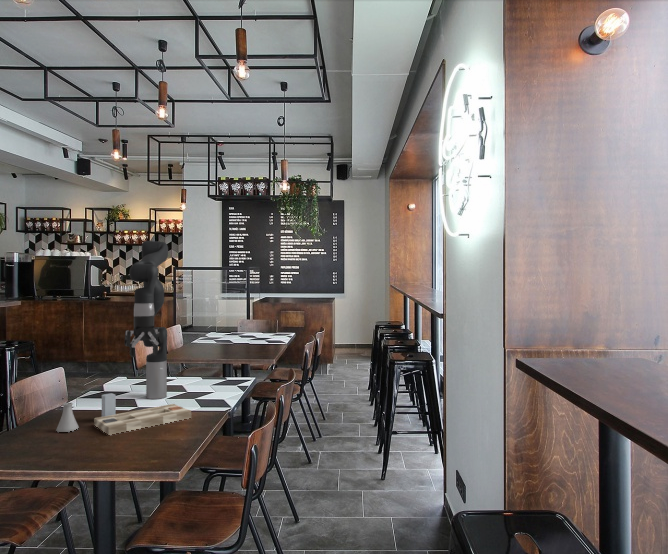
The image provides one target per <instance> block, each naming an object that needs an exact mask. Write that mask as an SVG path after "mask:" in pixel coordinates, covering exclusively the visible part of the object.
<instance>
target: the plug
mask: <svg viewBox="0 0 668 554" xmlns="http://www.w3.org/2000/svg"><path fill="white" fill-rule="evenodd" d="M116 400H117V399H116V394H114V393H112V392H111V393H105V394H101V417H104V416H109V415H115V414H117V412H116V410H117V409H116V407H117V406H116V404H117V403H116Z"/></svg>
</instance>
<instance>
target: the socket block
mask: <svg viewBox="0 0 668 554" xmlns="http://www.w3.org/2000/svg"><path fill="white" fill-rule="evenodd" d="M189 418H191V419H192V411H191V410H190V409H187V408H185V407H183V406H179V405H178V404H175V403H171V404H165V405H160V406H153V407H148V408H143V409H142V408H141V409H138V410H133V411H132V410H131V411H127V412H122V413H121V412H120V413H116V414H115V415H109V416H104V417H102V416H99V417H95V418H93V421H94V422H93V426H94V425H95V426H96V427H98V428H99V429H101V430H102V431H103V432H102V431H101V430H100V431H101V432H102V433H104V432H105V433H107V434H108V435H110V436H113V435H112V434H115V435H117V434H116V433H119V434H122V433H121V432H124V433H127V432H126V431H129V432H132V431H131V430H134V431H137V430H136V429H139V430H142V429H141V428H144V429H146V428H145V427H148V428H152V427H151V426H153V427H156V426H155V425H158V426H161V425H160V424H163V425H166V424H165V423H168V424H171V423H170V422H172V423H175V422H174V421H177V422H180V421H179V420H182V421H185V420H184V419H187V420H190V419H189ZM95 426H94V427H95ZM96 427H95V428H96ZM98 428H97V429H98ZM99 429H98V430H99ZM105 433H104V434H105ZM107 434H106V435H107ZM108 435H107V436H108Z"/></svg>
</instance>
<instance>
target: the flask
mask: <svg viewBox="0 0 668 554" xmlns="http://www.w3.org/2000/svg"><path fill="white" fill-rule="evenodd" d="M73 404H74V403H72V402H66V403H62V404H61V405H62V408H63V410H62V414H61V417H60V420H59V422H58V424H57V427H56V429H55V432H56V431H57V433H59V432H68V433H71V432H70V431H72V432H75V431H74V430H76V429H77V430H79V429H80V426H79V424H78V422H77V420H76V418H75V415H74V412H73ZM78 428H79V429H78ZM77 430H76V431H77Z"/></svg>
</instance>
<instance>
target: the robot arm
mask: <svg viewBox="0 0 668 554" xmlns="http://www.w3.org/2000/svg"><path fill="white" fill-rule="evenodd" d="M168 256H169V246H168V244H167V242H164V241H159V240H158V241H156V240H154V241H153V240H145V241H143V242H142V245H141V259H140V260H139V261H135V263H133V264H132V265H131V267H130V268H129V272H128V273H129V278H130V279H131V281H133V282H136V283H143V284H142V287H138V288H136V289H135V290H134V306H133V330H125V333H124V346H125V347H128V348H129V356H131V358H135V357H136V345H137V344H138V343H139V342H140V341H141V342H142V343H143V345H144V347H146V348H152V353H149V354H147V355H146V357H145V359H146V362H145V364H146V365H145V371H146V373H145V375H146V376H145V381H146V383H145V388H146V389H145V397H146V399H149V400H157V399H164V398H166V397H167V395H168V391H167V390H168V388H167V386H168V378H167V377H168V375H167V374H168V370H167V369H168V368H167V366H168V363H167V361H168V360H167V359H168V356H167V352H168V351H167V348H168V346H167V345H168V330H167V328H166V327H165V326H160V327H159V326H155V317H156V316H157V314H158V312H159V311H160V310H161V308H162V307H163V305H164V302H165V288H164V285H163V283H162V282H161V280H160V279H159V268H158V267H159V266H160V265H162V264H164V262H166V261H167V259H168ZM132 336H134V337H133V338H132V340H131V337H132Z"/></svg>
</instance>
